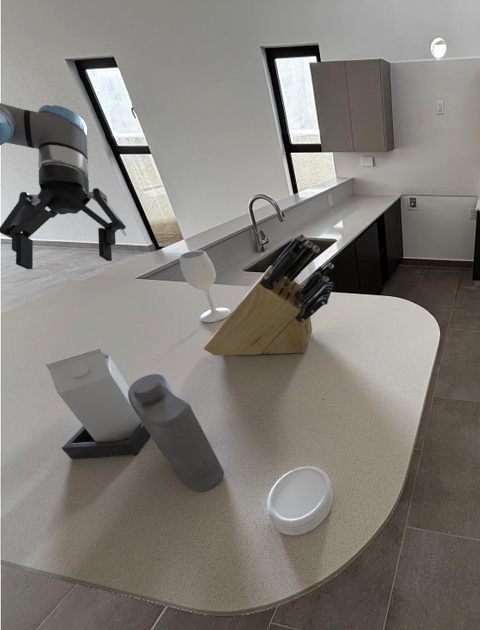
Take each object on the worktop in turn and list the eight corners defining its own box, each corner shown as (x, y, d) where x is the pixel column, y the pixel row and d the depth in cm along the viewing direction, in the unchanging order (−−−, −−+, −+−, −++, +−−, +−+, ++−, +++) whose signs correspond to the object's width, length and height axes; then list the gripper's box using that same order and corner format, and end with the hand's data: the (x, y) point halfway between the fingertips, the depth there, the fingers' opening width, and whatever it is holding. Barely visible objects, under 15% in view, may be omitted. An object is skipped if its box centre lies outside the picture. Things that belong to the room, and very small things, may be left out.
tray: (70, 459, 63) (61, 448, 61) (115, 410, 73) (108, 400, 71) (137, 455, 64) (129, 444, 62) (172, 407, 74) (166, 397, 72)
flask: (161, 454, 64) (110, 375, 53) (193, 434, 68) (152, 357, 57) (194, 502, 56) (142, 421, 46) (229, 476, 60) (188, 396, 49)
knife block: (339, 353, 90) (321, 244, 74) (206, 358, 89) (158, 247, 73) (344, 330, 100) (330, 229, 84) (225, 334, 98) (187, 231, 82)
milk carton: (101, 426, 68) (47, 354, 58) (143, 409, 72) (99, 339, 62) (101, 449, 64) (43, 375, 54) (146, 430, 68) (99, 357, 58)
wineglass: (197, 315, 108) (172, 253, 97) (226, 306, 113) (205, 246, 102) (204, 325, 102) (178, 262, 91) (234, 316, 107) (212, 254, 96)
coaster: (266, 494, 57) (261, 482, 55) (323, 467, 61) (320, 455, 60) (277, 550, 50) (272, 539, 48) (341, 515, 54) (339, 503, 52)
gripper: (140, 181, 80) (146, 262, 76) (7, 188, 73) (5, 277, 69) (121, 160, 73) (126, 247, 69) (-28, 165, 66) (-33, 262, 62)
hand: (66, 262), depth 69 cm, fingers open, 13 cm apart
